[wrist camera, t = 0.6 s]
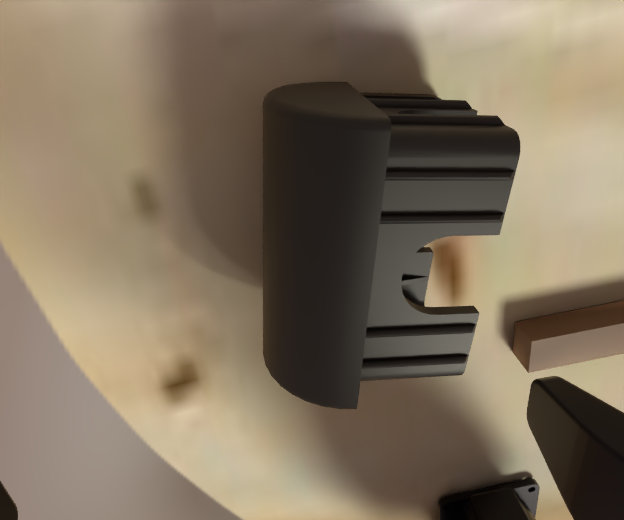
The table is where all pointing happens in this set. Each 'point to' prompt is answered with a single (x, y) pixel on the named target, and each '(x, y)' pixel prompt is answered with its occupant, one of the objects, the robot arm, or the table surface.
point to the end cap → (370, 232)
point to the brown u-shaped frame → (570, 337)
